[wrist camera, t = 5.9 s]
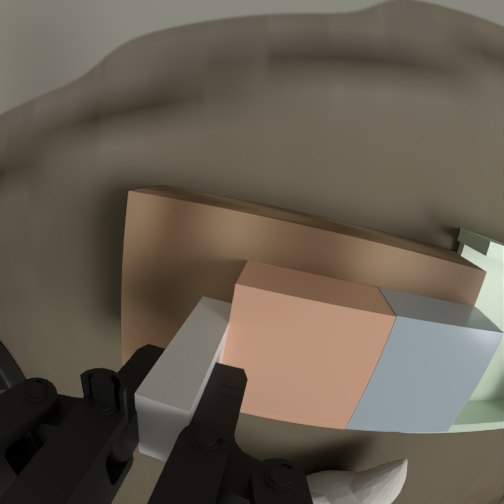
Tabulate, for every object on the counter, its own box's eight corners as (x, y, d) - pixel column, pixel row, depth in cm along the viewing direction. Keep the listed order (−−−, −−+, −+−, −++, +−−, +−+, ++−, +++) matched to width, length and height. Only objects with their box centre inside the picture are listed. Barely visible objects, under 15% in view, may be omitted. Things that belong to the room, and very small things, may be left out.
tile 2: (227, 368, 16) (214, 405, 13) (248, 259, 14) (235, 283, 11) (339, 390, 15) (344, 429, 12) (378, 287, 13) (396, 316, 10)
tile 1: (339, 389, 15) (344, 428, 12) (378, 287, 13) (397, 315, 10) (431, 397, 15) (447, 431, 12) (475, 306, 13) (504, 333, 10)
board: (148, 332, 20) (122, 364, 17) (161, 185, 18) (128, 190, 14) (399, 384, 19) (413, 422, 15) (453, 251, 16) (486, 271, 12)
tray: (391, 400, 19) (401, 432, 16) (460, 228, 16) (490, 241, 12) (501, 402, 18) (516, 426, 15) (564, 267, 15) (590, 281, 12)
